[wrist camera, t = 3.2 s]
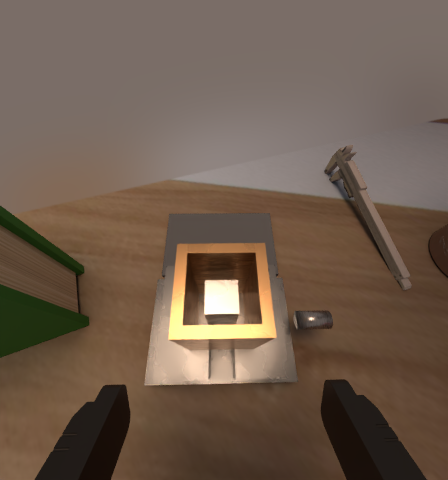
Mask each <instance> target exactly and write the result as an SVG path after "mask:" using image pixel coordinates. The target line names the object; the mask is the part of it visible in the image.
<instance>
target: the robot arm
mask: <svg viewBox="0 0 448 480" xmlns="http://www.w3.org/2000/svg"><path fill="white" fill-rule="evenodd" d="M429 247H430V252H431V255H432V257H433V259H434V261H435V263H436V264H437V266H438V267H439V268H440V269H441V270H442V271H443V272H444V273H445V274H446V275H447V276H448V224H447V225H446V226H444V227H443V228H441V229H439V230H438V231H436V232H435V233H434V234H433V235H432V237H431V239H430V243H429ZM321 416H322V421H323V424H324V427H325V429H326V432H327V434H328V436H329V439H330V441H331V444H332V446H333V448H334V451H335V453H336V455H337V458H338V460H339V462H340V465H341V467H342V469H343V472H344V474H345V477H346V479H347V480H427V479H426V478H425V476H424V475H423V474H422V472H421V471H420V469H419V468H418V466H417V465H416V463H415V462H414V460H413V459H412V458H411V456H410V455H409V453H408V452H407V450H406V449H405V447H404V446H403V444H402V443H401V442H400V441H399V440H398V437H397V436H396V434H395V433H394V431H393V430H392V428H391V427H389V425H388V423H387V421H386V420H385V418H384V417H383V415H382V414H381V412H380V411H379V410H378V408H377V407H376V406H375V405H374V404H372V403H371V402H370V401H369V400H368V399H367V398H366V397H365V396H364V395H356V393H355V392H354V390H353V388H352V387H351V385H350V384H349V382H348V381H347V380H344V379H343V380H326V381H325V383H324V390H323V396H322V403H321ZM129 423H130V408H129V402H128V395H127V389H126V386H125V385H105V386H103V388H102V389H101V391H100V392H99V394H98V396H97V398H96V400H95V402H86V403H85V405H84V406H83V407H82V408H81V409H80V410H79V411H78V412H77V413H76V414H75V415H74V416H73V417H72V419H71V420H70V422H69V424H68V425H67V427H66V429H65V430H64V432H63V435H62V437H60V438H59V440H58V442H57V443H56V445H55V447H54V450H53V452H51V453H50V455H49V457H48V458H47V460H46V462H45V463H44V465H43V467H42V468H41V470H40V472H39V473H38V475H37V477H36V478H35V480H111V477H112V474H113V471H114V468H115V466H116V463H117V460H118V457H119V454H120V452H121V449H122V446H123V443H124V440H125V437H126V435H127V432H128V428H129Z"/></svg>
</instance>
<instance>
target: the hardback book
mask: <svg viewBox="0 0 448 480" xmlns="http://www.w3.org/2000/svg"><path fill="white" fill-rule="evenodd" d="M83 273H84V266H82V265H81V264H80V263H78V262H77V261H75V260H74V259H73V258H71V257H70V256H69V255H67V254H66V253H65V252H63V251H62V250H60V249H59V248H58V247H56V246H55V245H54V244H52V243H51V242H49V241H48V240H47V239H45V238H44V237H43V236H41V235H40V234H38V233H37V232H36V231H34V230H33V229H32V228H30V227H29V226H28V225H26V224H25V223H23V222H22V221H21V220H19V219H18V218H17V217H15V216H14V215H12V214H11V213H10V212H8V211H7V210H6V209H4V208H3V207H1V206H0V358H1V357H3V356H6V355H9V354H12V353H14V352H17V351H20V350H23V349H25V348H28V347H31V346H34V345H36V344H39V343H42V342H45V341H47V340H50V339H53V338H55V337H58V336H61V335H64V334H66V333H69V332H72V331H75V330H77V329H80V328H83V327H86V326H88V325H89V317H87V316H85V315H82V314H79V313H78V299H77V286H76V276H77V275H80V274H83Z"/></svg>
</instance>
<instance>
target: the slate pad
mask: <svg viewBox="0 0 448 480" xmlns="http://www.w3.org/2000/svg"><path fill="white" fill-rule="evenodd" d="M206 243H265V247H266V255H267V263H268V265H275V272H276V276H277V275H278V268H277V261H276V255H275V248H274V241H273V234H272V227H271V220H270V213H236V214H169V222H168V230H167V238H166V246H165V254H164V262H163V271H162V276H163V277H165V272H166V266H175V263H176V252H177V244H206Z"/></svg>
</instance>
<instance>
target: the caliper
mask: <svg viewBox="0 0 448 480" xmlns="http://www.w3.org/2000/svg"><path fill="white" fill-rule="evenodd" d="M352 147H353V145H349V146H346V147H344V148H340V149H339V150H338V151H337V152H336V153H335V154H334V155H333V156H332V158H331V160H330V161H329V163H328V165H327V167H326V169H325V174H327V173H331V172H332V171H333V170H334V169H335V168H336V167H337V166H338V167H339V170H338V171H337V172H336V173H335V174H334V175H333V176H332V177H331V178H330V179H329V180H330V182H333V181H337V180H340V179H343V181H344V182H343V183H344V188H345V190H346V191H347V193H348V197H349V198H351V197H354V199H355V201H356V203H357V205H358V207H359V209H360V211H361V213H362V215H363V217H364V219H365V221H366V223H367V225H368V227H369V229H370V231H371V233H372V235H373V237H374V239H375V242H376V244H377V246H378V248H379V250H380V252H381V254H382V256H383V258H384V260H385V262H386V264H387V266H388V268H389V270H390V271H391V273H392V274H393V276H394V277H395V279H396V280H398V281H399V283H400V285H401V287H402V289H403V290H407V289H410V288H411V286H412V285H411V283H410V281H409V279H408V277H410V274H409V272H408V270H407V268H406V266H405V264H404V262H403V260H402V258H401V256H400V254H399V253H398V251H397V249H396V247H395V245H394V243H393V241H392V239H391V237H390V235H389V233H388V231H387V229H386V228H385V226H384V224H383V222H382V220H381V218H380V216H379V214H378V212H377V210H376V208H375V207H374V205H373V203H372V201H371V199H370V197H369V195H368V193H367V191H366V189H367V186H366V184H365V182H364V180H363V178H362V176H361V174H360V172H359V170H358V168H357V166H356V164H355V162H354V161H353V160H352V161H350V160H351V158H352V157H353V156H354V155H355V154H356V153H357V152H353V153H350V152H351V150H352Z"/></svg>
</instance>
